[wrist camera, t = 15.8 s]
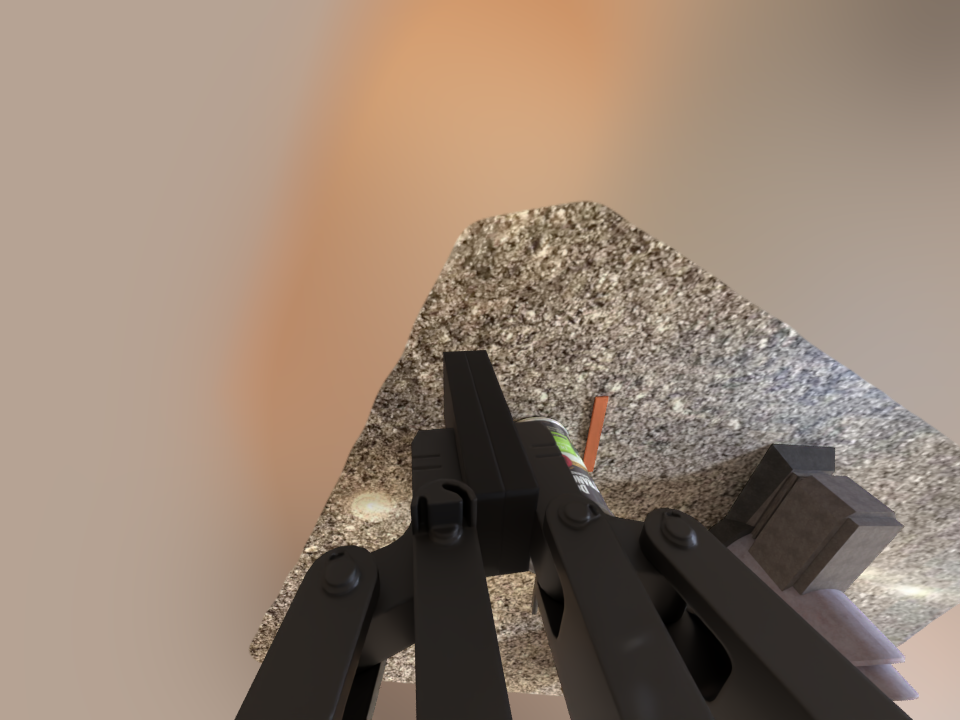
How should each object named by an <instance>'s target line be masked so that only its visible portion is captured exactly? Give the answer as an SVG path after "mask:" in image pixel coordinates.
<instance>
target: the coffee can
mask: <svg viewBox="0 0 960 720" xmlns="http://www.w3.org/2000/svg"><path fill="white" fill-rule="evenodd" d="M524 421H539V422H541V423H542V424H543V425H544V426H545V427H547V428H548V429H549V430H550V431H551V433H552V435H553V437H554V439H555V441H556V443H557V446H558V447H559V449H560V451H561V453H562V456H563V457H564V459H565V461H566V463H567V465H568V467H569V469H570V471H571V473H572V475H573V477H574V478H575V480H576V482H577V484H578V486H579V488H580V490H581V492H582V494H583V496H585V497H588V498H589V499H591V500H592V501H594V502H595V503H597V504H598V505H599V507H600V508H601V509H602V510H603V512H604V513H605V514H608V515H610V516H614V514H613V513H612V512H611V511H610V510H609V508H608V506H607V504H606V503H605V501H604V499H603V497H602V495H601V493H600V492H599V490H598V488H597V486H596V484H595V483H594V481H593V479H592V477H591V476H590V474H589V472H588V470H587V468H586V466H585V465H584V463H583V461H582V459H581V457H580V455H579V454H578V452H577V450H576V448H575V446H574V445H573V443H572V441H571V439H570V437H569V434H568V432H567V430H566V429H565V428H564V426H563V425H561V424H560V423H559V422H557V421H555V420H553V419H550V418H546V417H530V418H525V419H522V420H519V421H517V422H524ZM614 517H615V516H614ZM529 571H530V572H532V573H534V574H535V570H534V567H533V564H532V560H531V557H530V564H529Z"/></svg>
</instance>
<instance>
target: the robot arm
mask: <svg viewBox="0 0 960 720" xmlns="http://www.w3.org/2000/svg"><path fill="white" fill-rule="evenodd" d="M443 371H444V419H445V426H446V429H432V430H419V431H418V432H417V434H416V436H415V438H414V439H413V441H412V443H411V444H412V492H413V498H412V502H411V520H412V521H411V523H410V526H409V528H408V529H407V530H406V532H405V533H404V534H403V535H402V536H401V537H400V538H399V539H398V540H396V541H395V542H393V543H391V544H389V545H388V546H385V547H383V548H381V549H378V550H376V551H374V552H371V553H370V552H369V551H368V550H366V549H365V548H362V547H358V546H355V545H351V546H340V547H338V548H335V549H333V550H330V551H328V552H326V553H325V554H323V555H322V556H321V557H320V558H318V559H317V560H316V561H315V562H314V563H313V564H312V566H311V567H310V569H309V570H308V571H307V573H306V575H305V577H304V579H303V581H302V583H301V585H300V587H299V589H298V591H297V593H296V595H295V597H294V599H293V601H292V603H291V605H290V608H289V610H288V612H287V614H286V616H285V618H284V620H283V622H282V624H281V626H280V628H279V630H278V632H277V634H276V636H275V638H274V640H273V642H272V644H271V646H270V648H269V650H268V652H267V654H266V657H265V659H264V661H263V663H262V665H261V667H260V669H259V671H258V673H257V675H256V677H255V679H254V681H253V683H252V685H251V687H250V689H249V691H248V693H247V696H246V697H245V700H244V701H243V704H242V706H241V708H240V710H239V712H238V714H237V716H236V718H235V720H372V717H373V713H374V709H375V705H376V701H377V697H378V693H379V689H380V685H381V681H382V677H383V673H384V669H385V665H386V661H387V658H389V657H391V656H393V655H395V654H397V653H398V652H400V651H402V650H404V649H406V648H408V647H409V646H411V645H413V644H415V672H416V715H417V716H416V718H417V720H512V715H511V710H510V704H509V699H508V694H507V688H506V683H505V678H504V672H503V667H502V662H501V656H500V651H499V646H498V641H497V635H496V630H495V625H494V619H493V614H492V609H491V603H490V598H489V593H488V587H487V582H486V577H489V576H496V575H504V574H511V573H519V572H526V571H529V564H530V557H531V560H532V564H533V567H534V570H535V574H536V577H535V584H534V590H533V597H532V604H531V605H532V614H537V609H538V606H539V610H540V613H541V617H542V620H543V624H544V627H545V631H546V634H547V638H548V641H549V645H550V648H551V652H552V655H553V659H554V662H555V666H556V669H557V673H558V676H559V680H560V683H561V687H562V690H563V694H564V697H565V700H566V704H567V708H568V711H569V715H570V718H571V720H913V719H912V718H910V717H909V716H908V715H907V714H906V713H905V712H904V711H903V710H902V709H901V708H900V707H899V706H897V705H896V704H895V703H894V702H893V701H892V700H891V699H890V698H889V697H888V696H887V695H886V694H884V693H883V692H882V691H881V690H880V689H879V688H878V687H877V686H876V685H875V684H874V683H873V682H872V681H870V680H869V679H868V678H867V677H866V676H865V675H864V674H863V673H862V672H861V671H860V670H859V669H857V668H856V667H855V666H854V665H853V664H852V663H851V662H850V661H849V660H848V659H847V658H846V657H845V656H843V655H842V654H841V653H840V652H839V651H838V650H837V649H836V648H835V647H834V646H833V645H832V644H830V643H829V642H828V641H827V640H826V639H825V638H824V637H823V636H822V635H821V634H820V633H819V632H818V631H816V630H815V629H814V628H813V627H812V626H811V625H810V624H809V623H808V622H807V621H806V620H805V619H803V618H802V617H801V616H800V615H799V614H798V613H797V612H796V611H795V610H794V609H793V608H792V607H791V606H789V605H788V604H787V603H786V602H785V601H784V600H783V599H782V598H781V597H780V596H779V595H778V594H776V593H775V592H774V591H773V590H772V589H771V588H770V587H769V586H768V585H767V584H766V583H765V582H763V581H762V580H761V579H760V578H759V577H758V576H757V575H756V574H755V573H754V572H753V571H752V570H751V569H749V568H748V567H747V566H746V565H745V564H744V563H743V562H742V561H741V560H740V559H739V558H738V557H736V556H735V555H734V554H733V553H732V552H731V551H730V550H729V549H728V548H727V547H726V546H725V545H724V544H722V543H721V542H720V541H719V540H718V539H717V538H716V537H715V536H714V535H713V534H712V533H711V532H709V531H708V530H707V529H706V528H705V527H704V526H703V525H702V524H701V523H700V522H698V521H697V520H695V519H694V518H693V517H691V516H690V515H688V514H686V513H683V512H681V511H679V510H675V509H669V508H660V509H654V510H653V511H651V512H650V513H648V514H647V516H646V519H645V522H642V521H636V520H630V519H624V518H618V517H614V516H610V515H608V514H605V513H604V512H603V510H602V509H601V508H600V507H599V505H598V504H597V503H595V502H594V501H592V500H591V499H589V498H588V497H585V496H583V494H582V492H581V490H580V488H579V486H578V484H577V482H576V480H575V478H574V477H573V475H572V473H571V471H570V469H569V467H568V465H567V463H566V461H565V459H564V457H563V456H562V453H561V451H560V449H559V447H558V446H557V443H556V441H555V439H554V437H553V435H552V433H551V431H550V430H549V429H548V428H547V427H545V426H544V425H543V424H542V423H541V422H539V421H524V422H514V421H513V418H512V416H511V413H510V411H509V408H508V406H507V403H506V400H505V398H504V395H503V393H502V390H501V388H500V385H499V382H498V380H497V377H496V375H495V372H494V370H493V367H492V365H491V362H490V359H489V357H488V354H487V352H486V350H477V351H455V352H443Z"/></svg>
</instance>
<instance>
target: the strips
mask: <svg viewBox="0 0 960 720" xmlns="http://www.w3.org/2000/svg"><path fill="white" fill-rule="evenodd" d="M607 402H608V396H601V397H595V401H594V407H593V412H592V417H591V422H590V427H589V433H588V438H587V443H586V448H585V453H584V458H583V463H584V465H585V466H586V468H587V470H588V472H593V468H594V464H595V459H596V454H597V449H598V445H599V440H600V435H601V430H602V426H603V421H604V416H605V412H606V407H607Z"/></svg>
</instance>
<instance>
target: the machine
mask: <svg viewBox="0 0 960 720" xmlns="http://www.w3.org/2000/svg"><path fill="white" fill-rule="evenodd" d="M834 471H835V448H830V447H814V446H798V445H783V444H772V445H771V447H770V448H769V450H768V451H767V453H766V454H765V456H764V457H763V459H762V461H761V462H760V464H759V465H758V467H757V468H756V470H755V472H754V473H753V475H752V476H751V478H750V479H749V481H748V483H747V484H746V486H745V487H744V489H743V490H742V492H741V494H740V495H739V497H738V498H737V500H736V501H735V503H734V505H733V506H732V508H731V509H730V511H729V512H728V514H727V516H726V517H725V519H723V520H721V521H720V522H718V523H717V524H716V525H714V526H713V527H712V528H711V529H710V530H709V532H711V533H712V534H713V535H714V536H715V537H716V538H717V539H718V540H719V541H720V542H721V543H722V544H724V545H725V546H726V547H727V548H728V549H729V550H730V551H731V552H732V553H733V554H734V555H735V556H736V557H738V558H739V559H740V560H741V561H742V562H743V563H744V564H745V565H746V566H747V567H748V568H749V569H751V570H752V571H753V572H754V573H755V574H756V575H757V576H758V577H759V578H760V579H761V580H762V581H763V582H765V583H766V584H767V585H768V586H769V587H770V588H771V589H772V590H773V591H774V592H775V593H776V594H778V595H779V596H780V597H781V598H782V599H783V600H784V601H785V602H786V603H787V604H788V605H789V606H791V607H792V608H793V609H794V610H795V611H796V612H797V613H798V614H799V615H800V616H801V617H802V618H803V619H805V620H806V621H807V622H808V623H809V624H810V625H811V626H812V627H813V628H814V629H815V630H816V631H818V632H819V633H820V634H821V635H822V636H823V637H824V638H825V639H826V640H827V641H828V642H829V643H830V644H832V645H833V646H834V647H835V648H836V649H837V650H838V651H839V652H840V653H841V654H842V655H843V656H845V657H846V658H847V659H848V660H849V661H850V662H851V663H852V664H853V665H854V666H855V667H856V668H857V669H859V670H860V671H861V672H862V673H863V674H864V675H865V676H866V677H867V678H868V679H869V680H870V681H872V682H873V683H874V684H875V685H876V686H877V687H878V688H879V689H880V690H881V691H882V692H883V693H884V694H886V695H887V696H888V697H889V698H890V699H891V700H892V701H902V700H913V699H917V698H918V697H919V694H918V693H917V692H916V691H915V689H914V688H913V687H912V686H911V685H910V684H909V683H908V682H907V681H906V680H905V679H904V678H903V677H902V676H901V674H900V673H899V672H898V671H897V670H896V669H895V668H894V667H893V666H892V665H891V664H894V663H902V662H905V656H904V655H903V654H902V653H901V652H900V651H899V650H898V648H897V647H896V646H895V645H894V644H893V643H892V642H891V641H890V640H889V639H888V638H887V637H886V636H885V635H884V634H883V633H882V632H881V631H880V630H879V629H878V628H877V627H876V626H875V625H874V624H873V623H872V622H871V621H870V620H869V619H868V618H867V617H866V616H865V615H864V614H863V613H862V612H861V610H860V609H859V608H858V607H857V606H856V605H855V604H854V603H853V602H852V601H851V600H850V599H849V598H848V597H847V596H846V595H845V594H844V592H845V591H846V590H847V589H848V587H849V586H850V585H851V584H852V583H853V582H854V581H855V580H856V579H857V578H858V577H859V576H860V574H861V573H862V572H863V571H864V570H865V569H866V568H867V567H868V566H869V565H870V564H871V562H872V561H873V560H874V559H875V558H876V557H877V556H878V555H879V554H880V553H881V552H882V550H883V549H884V548H885V547H886V546H887V545H888V544H889V543H890V542H891V541H892V540H893V539H894V537H895V536H896V535H897V534H898V533H899V532H900V531H901V530H902V529H903V528H904V527H905V526H903V525H902V524H901V523H900V522H898V521H897V520H896V516H895V512H894V511H892V510H891V509H890V508H888V507H887V506H886V505H884V504H883V503H882V502H880V501H879V500H878V499H877V498H875V497H874V496H873V495H871V494H870V493H869V492H867V491H866V490H865V489H863V488H862V487H861V486H859V485H858V484H857V483H855V482H854V481H853V480H851V479H850V478H849V477H847V476H832V474H833V473H834Z"/></svg>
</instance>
